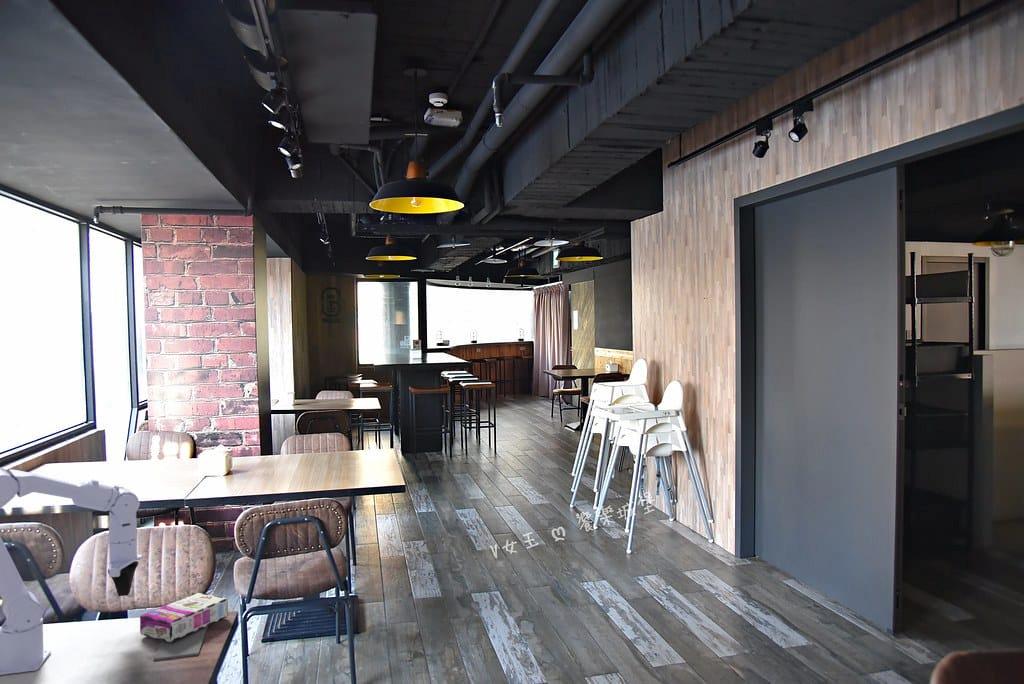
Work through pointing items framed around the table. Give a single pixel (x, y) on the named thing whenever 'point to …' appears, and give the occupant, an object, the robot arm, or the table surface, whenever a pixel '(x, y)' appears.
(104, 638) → the table surface
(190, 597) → the candy bar box
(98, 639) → the table surface
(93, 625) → the table surface
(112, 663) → the table surface
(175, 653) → the mat
